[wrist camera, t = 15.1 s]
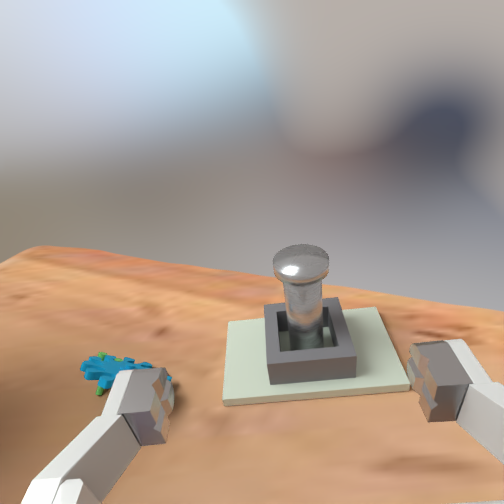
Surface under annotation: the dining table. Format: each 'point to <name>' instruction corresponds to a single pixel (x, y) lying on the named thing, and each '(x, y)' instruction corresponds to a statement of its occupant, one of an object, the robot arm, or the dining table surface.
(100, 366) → the gear
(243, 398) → the socket board
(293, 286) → the pin
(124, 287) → the dining table surface
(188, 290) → the dining table surface
